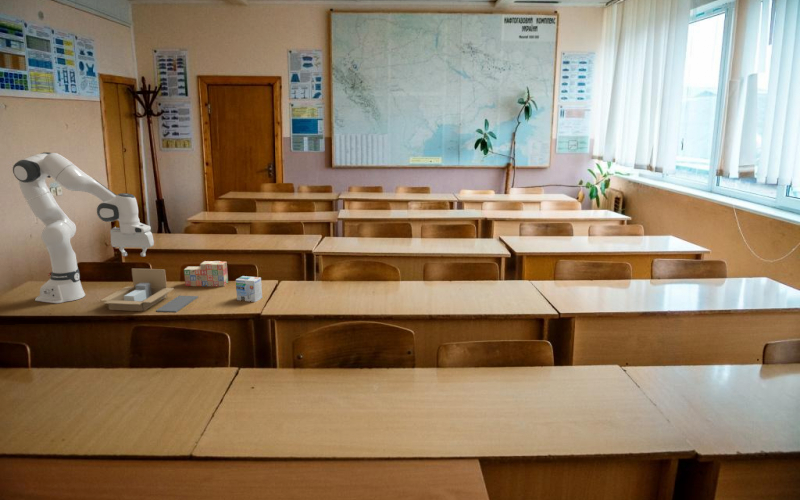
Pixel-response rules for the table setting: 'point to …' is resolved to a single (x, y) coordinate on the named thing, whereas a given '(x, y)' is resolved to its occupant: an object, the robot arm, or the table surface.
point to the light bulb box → (249, 288)
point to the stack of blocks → (207, 274)
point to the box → (139, 292)
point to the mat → (177, 304)
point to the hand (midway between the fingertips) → (134, 256)
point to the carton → (139, 276)
